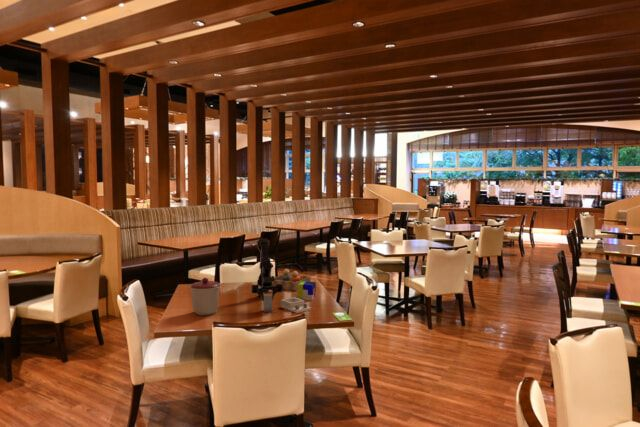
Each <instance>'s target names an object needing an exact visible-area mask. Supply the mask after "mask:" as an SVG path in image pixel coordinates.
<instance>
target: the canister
mask: <svg viewBox="0 0 640 427" xmlns="http://www.w3.org/2000/svg"><path fill="white" fill-rule="evenodd" d="M221 286H222V284H221V283H219V282H218V281H213V280H209V278H207V277H203V278H202V280H201V281H196V282H193V283H192V284H190V285H189V287H188V288H189V289H190V295H191V302H192V309H193V313H194V314H196V315H198V316H210V315H214V314H215V313H216V312H217V311H218V305H219V300H220V299H219V298H220V288H221Z"/></svg>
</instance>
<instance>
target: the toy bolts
mask: <svg viewBox="0 0 640 427" xmlns="http://www.w3.org/2000/svg"><path fill="white" fill-rule="evenodd" d="M290 273H291V272H290V270H289V269H288V268H285V269H283V274H282V275H283V276H282V278H283V279H284V280H283V281H289V279H290V280H291V281H294V282H296V281H299V280H300V276H298V275H299V272H298V271H297V270H294V271H292V273H291V275H292V276H290ZM289 282H290V281H289Z"/></svg>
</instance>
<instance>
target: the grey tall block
mask: <svg viewBox="0 0 640 427" xmlns="http://www.w3.org/2000/svg"><path fill="white" fill-rule="evenodd" d="M263 297H264V301H263V300H262V302H263V304H262V307H263V308H262V310H263V313H272V312H273V301H272V291H269V292H263Z"/></svg>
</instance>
